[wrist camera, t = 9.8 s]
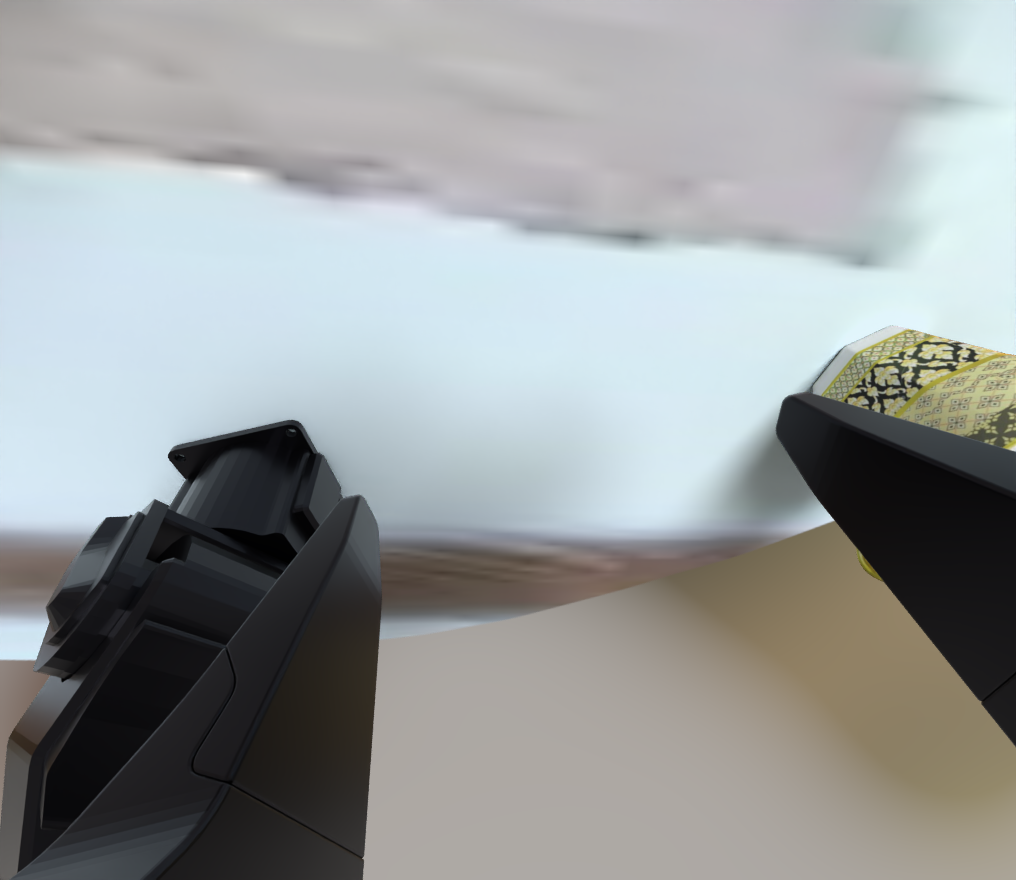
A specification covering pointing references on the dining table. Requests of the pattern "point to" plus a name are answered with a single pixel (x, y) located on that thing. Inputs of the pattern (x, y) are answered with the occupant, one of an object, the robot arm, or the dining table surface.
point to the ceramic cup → (927, 386)
